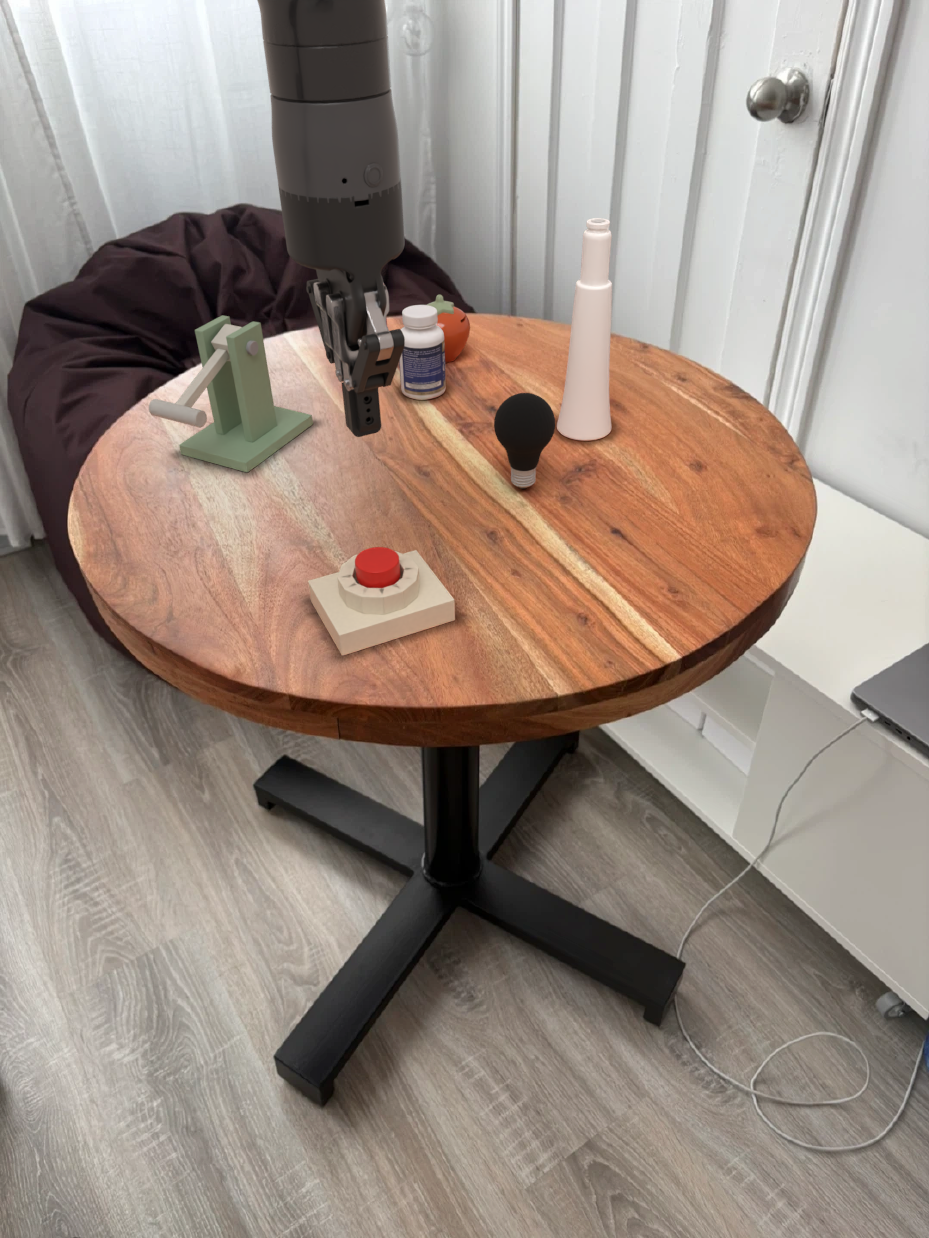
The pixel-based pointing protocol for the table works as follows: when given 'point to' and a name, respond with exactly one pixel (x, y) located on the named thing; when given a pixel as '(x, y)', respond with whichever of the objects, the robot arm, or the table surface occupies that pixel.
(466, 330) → the tomato
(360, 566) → the button
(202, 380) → the hinged lever
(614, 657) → the table surface
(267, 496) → the table surface
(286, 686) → the table surface
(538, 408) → the light bulb
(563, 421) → the cosmetic bottle
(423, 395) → the pill bottle
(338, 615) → the button block
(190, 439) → the green stand
